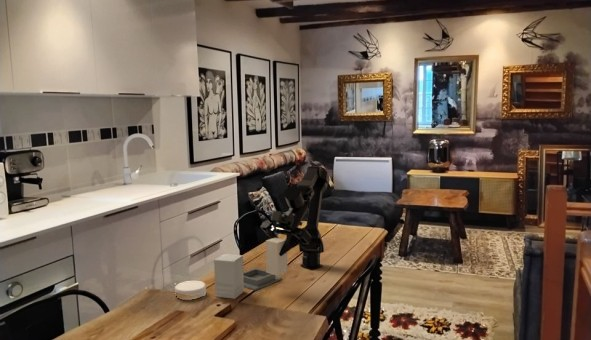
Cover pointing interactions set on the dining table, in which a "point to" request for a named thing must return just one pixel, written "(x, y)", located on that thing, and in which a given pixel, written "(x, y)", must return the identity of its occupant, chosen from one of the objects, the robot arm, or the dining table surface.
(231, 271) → the supplement box
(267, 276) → the tray
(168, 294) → the dining table surface
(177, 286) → the white round disc
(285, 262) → the cream block
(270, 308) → the dining table surface
